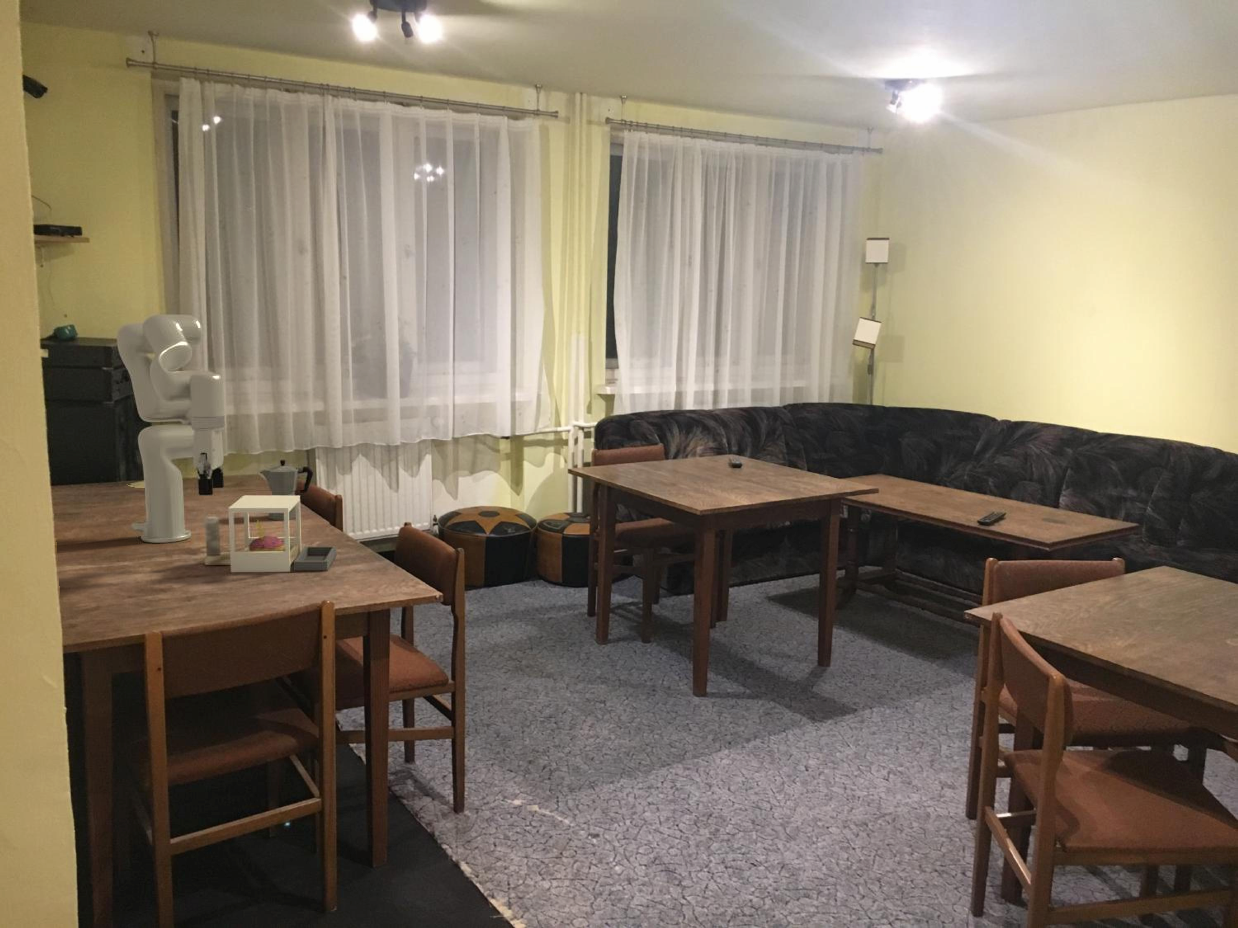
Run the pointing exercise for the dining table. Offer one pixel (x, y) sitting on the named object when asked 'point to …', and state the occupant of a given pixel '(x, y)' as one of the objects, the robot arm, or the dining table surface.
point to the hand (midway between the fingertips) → (211, 491)
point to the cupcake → (266, 543)
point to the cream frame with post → (214, 545)
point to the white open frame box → (259, 560)
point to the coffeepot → (286, 484)
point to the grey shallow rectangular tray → (315, 558)
